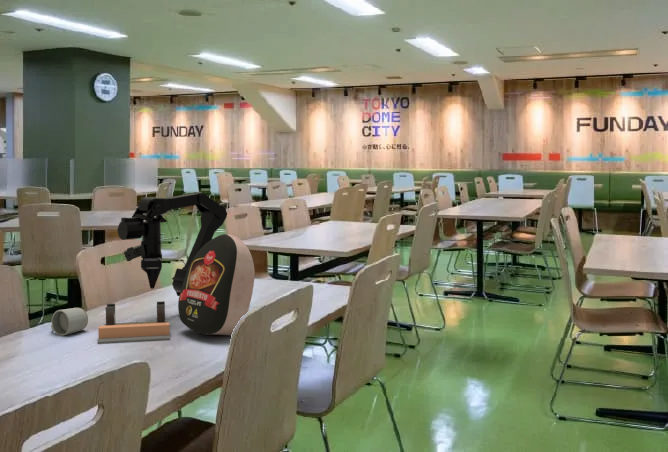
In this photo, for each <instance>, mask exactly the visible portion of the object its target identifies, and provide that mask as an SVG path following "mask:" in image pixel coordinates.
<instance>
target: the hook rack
mask: <svg viewBox="0 0 668 452" xmlns="http://www.w3.org/2000/svg"><path fill="white" fill-rule="evenodd" d="M165 302H166V301H165V300H163V301H156V320H155V321H134V322H132V321H131V322H116V303H113V302H112V303H106V306H105V323H104V325H103V326H107V325H127V324H148V323H168V320H166V303H165Z"/></svg>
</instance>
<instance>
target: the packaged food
mask: <svg viewBox="0 0 668 452" xmlns="http://www.w3.org/2000/svg"><path fill="white" fill-rule="evenodd" d="M255 275H256V274H255V265H254V259H253V256H252V254H251V252H250V250H249V247H248V246H247V244H245V242H243V240H242V239H240V237H238V236H236V235H234V234H229V233H224V234H219V235H218V236H216V237H213V238H212V240H210V241H209V242H207V243H206V244H205V245H204V246H203V247H202V248H201V249H200V250H199V251H198V253H197V254H196V256H195V257H194V259H193V260H192V262H191V264H190V266H189V268H188V271H187V274H186V277H185V280H184V282H183V285H182V288H181V292H180V296H178V300H177V301H178V302H177V304H178V305H177V309H178V310H177V311H178V316H179V319H180V322H182V324H183V325H184V326H185V327H187V328H188V329H190V330H192V331H194V332H196V333H199V334H201V335H220V336H232V335H231V334H232V332H233V329H234V328H235V326H236V325H237V323H238V321H239V320H240V318H241V317H242V316H243V315H245V314H246V313H247V312H249V308H250V305H251V302H252V297H253V293H254V286H255V285H254V284H255ZM247 314H248V313H247Z"/></svg>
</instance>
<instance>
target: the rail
mask: <svg viewBox="0 0 668 452" xmlns="http://www.w3.org/2000/svg"><path fill="white" fill-rule="evenodd" d="M169 329H170V322H168V323H148V324H127V325H107V326H104V325H98V333H97V334H98V339H100V338H118V337H137V336H156V335H170V334H171V333H170V331H169Z"/></svg>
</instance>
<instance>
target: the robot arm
mask: <svg viewBox="0 0 668 452" xmlns="http://www.w3.org/2000/svg"><path fill="white" fill-rule="evenodd" d="M192 206H195V208H196V210H197V211H198V212H199V213H200V214H201V215H200V229H199V232H198V233H197V235H196V238H195V242H194V243H193V245H192V249H191V250H190V252H189V256H188V258H187V260H186V262H185V264H184V266H182V268H176V270H175V272H174V275H173V277H172V278H171V280H172V283H171V286H172V288H173V290H174V291H175V294H176V296H177V297H179V296H180V292H181V288H182V285H183V282H184V280H185V277H186V274H187V271H188V268H189V266H190V264H191V262H192V260H193V259H194V257H195V256H196V254H197V253H198V251H199V250H200V249H201V248H202V247H203V246H204V245H205V244H206V243H207V242H209V241H210V240H212V239H213V238H214V235H215V233H216V232H217V230H219V228H221V227H222V226H223V224H224V223H225V221H226V220H227V217H228V212H227V209H226V207H225V206H223V205H222V204H220V203H218V202H217V201H215V200H214V199H212V198H211V197H209V196H208V195H207V194H206V193H205V192H199V191H196V192H192V193H186V194H181V195H176V196H175V195H174V196H169V197H152V196H151V197H147V196H146V197H142V198H141V199H140V201H139V203H138V207H137V208H136V209H135V211H134V213H132V216H131V217H126V216H125V217H121V218H120V222H119V224H118V227H117V235H118V237H119V239H120V240H122V241H127V240H137V239H142V240H140V241H141V242H140V244H138V245H136V246H131V247H127V249H126V250H124V251H123V255H124V257H125V260H126V261H127V262H131V261H132V260H134V259H137V258H139V257H141V260H140V268H141V270H142V271H144V272H145V274H146V275H147V280H148V284H149V287H150V289H151V290H152V289H155V286H156V284H157V281H158V278H159V277H160V274H161V270H162V267H163V253H162V237H161V236H162V232H161V231H162V229H161V228H162V227H161V225H162V223H167V219H166V218H164V216H163V215H164V214H166V213H169V211H171V210H175V209H182V208H187V207H192Z"/></svg>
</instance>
